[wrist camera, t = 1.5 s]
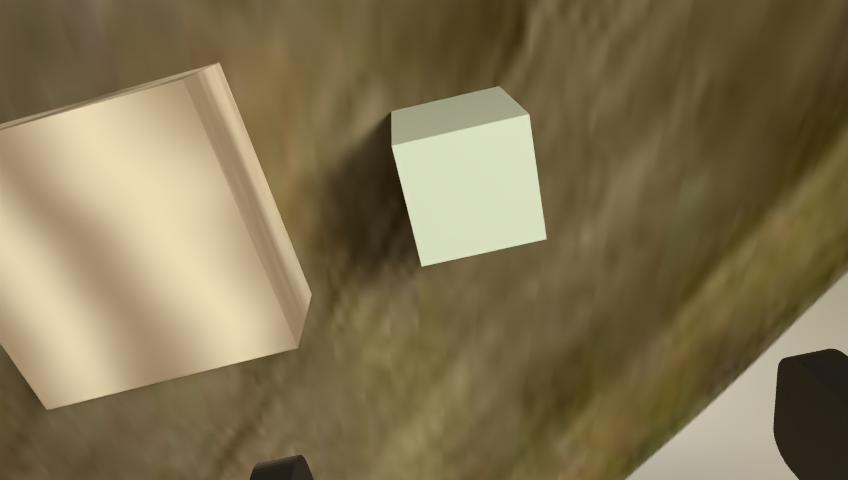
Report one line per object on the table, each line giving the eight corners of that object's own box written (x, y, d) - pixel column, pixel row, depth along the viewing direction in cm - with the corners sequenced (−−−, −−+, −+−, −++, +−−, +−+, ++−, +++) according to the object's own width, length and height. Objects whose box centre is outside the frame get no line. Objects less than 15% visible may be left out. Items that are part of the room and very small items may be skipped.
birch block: (221, 61, 25) (182, 79, 20) (312, 291, 30) (297, 347, 25) (-32, 132, 25) (-125, 165, 21) (98, 346, 30) (47, 409, 26)
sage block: (499, 86, 25) (528, 114, 20) (515, 188, 27) (546, 238, 22) (391, 111, 26) (391, 145, 20) (415, 210, 28) (421, 266, 22)
